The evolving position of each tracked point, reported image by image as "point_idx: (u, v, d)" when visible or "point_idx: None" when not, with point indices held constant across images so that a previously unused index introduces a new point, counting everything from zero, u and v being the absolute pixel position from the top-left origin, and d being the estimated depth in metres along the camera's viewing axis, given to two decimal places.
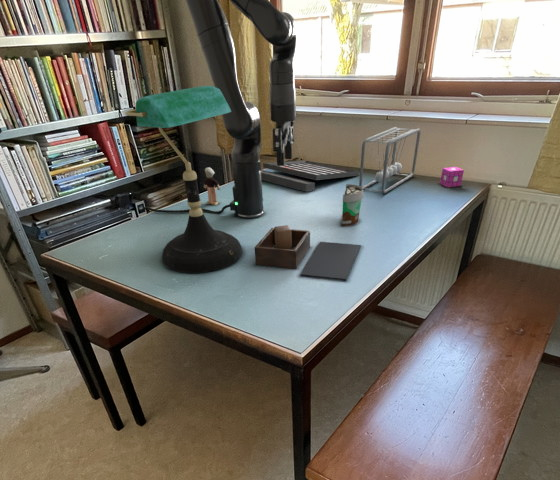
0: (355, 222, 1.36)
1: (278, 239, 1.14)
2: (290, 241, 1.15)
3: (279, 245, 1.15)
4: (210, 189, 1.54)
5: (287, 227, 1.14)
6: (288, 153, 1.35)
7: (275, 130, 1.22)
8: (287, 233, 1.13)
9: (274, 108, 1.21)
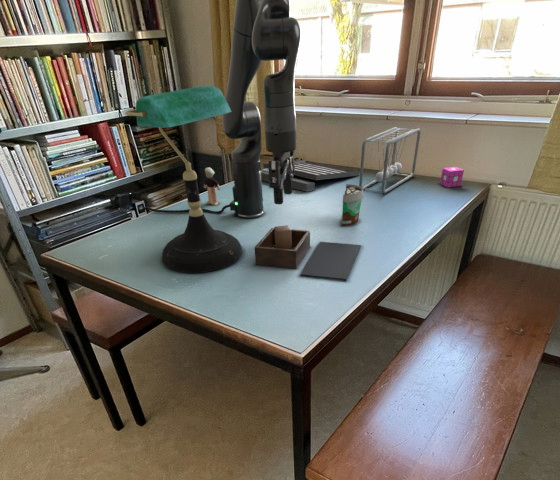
0: (355, 222, 1.36)
1: (278, 239, 1.14)
2: (290, 241, 1.15)
3: (279, 245, 1.15)
4: (210, 189, 1.54)
5: (287, 227, 1.14)
6: (287, 187, 1.11)
7: (271, 163, 0.98)
8: (287, 233, 1.13)
9: (270, 136, 0.98)
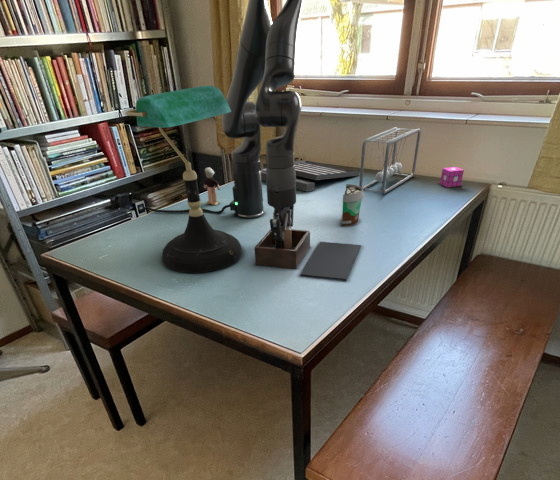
0: (355, 222, 1.36)
1: None
2: (290, 241, 1.15)
3: None
4: (210, 189, 1.54)
5: (287, 227, 1.14)
6: None
7: (273, 222, 1.07)
8: (287, 233, 1.13)
9: (271, 193, 1.06)
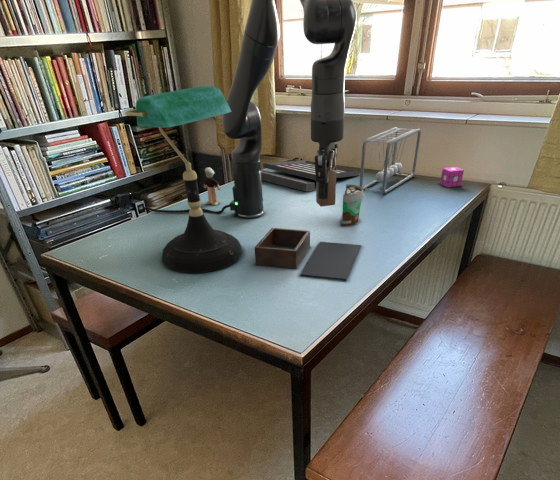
0: (355, 222, 1.36)
1: None
2: (334, 185, 1.02)
3: None
4: (210, 189, 1.54)
5: None
6: None
7: (318, 158, 0.94)
8: (331, 175, 1.01)
9: (317, 125, 0.93)
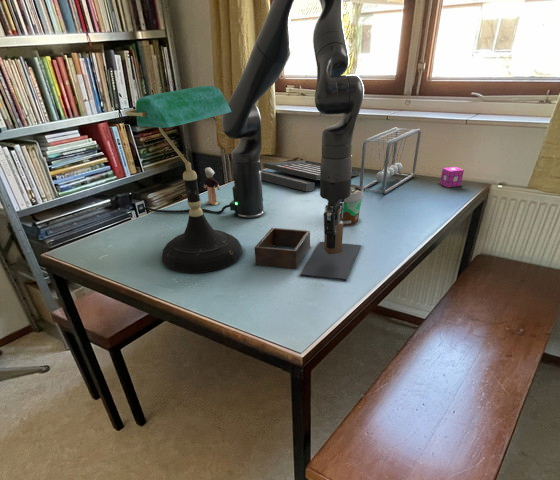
0: (355, 222, 1.36)
1: None
2: (341, 236, 1.10)
3: None
4: (210, 189, 1.54)
5: None
6: None
7: (327, 215, 1.01)
8: (338, 227, 1.08)
9: (326, 184, 1.00)
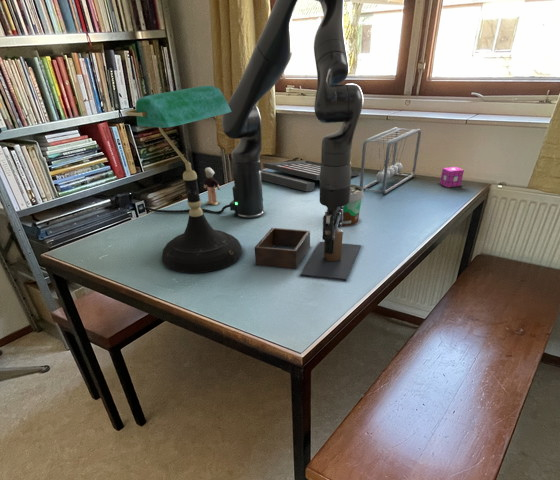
0: (355, 222, 1.36)
1: None
2: (341, 243, 1.11)
3: None
4: (210, 189, 1.54)
5: (338, 229, 1.10)
6: None
7: (326, 218, 1.02)
8: (338, 235, 1.09)
9: (325, 192, 1.01)
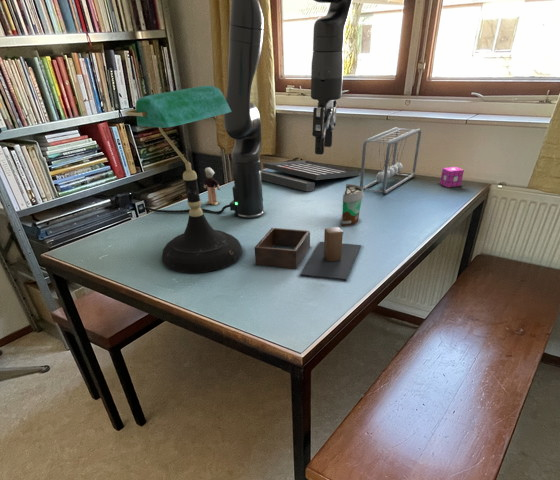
0: (355, 222, 1.36)
1: (329, 241, 1.10)
2: (341, 243, 1.11)
3: (329, 247, 1.11)
4: (210, 189, 1.54)
5: (338, 229, 1.10)
6: (328, 139, 1.12)
7: (316, 110, 0.99)
8: (338, 235, 1.09)
9: (316, 82, 0.99)
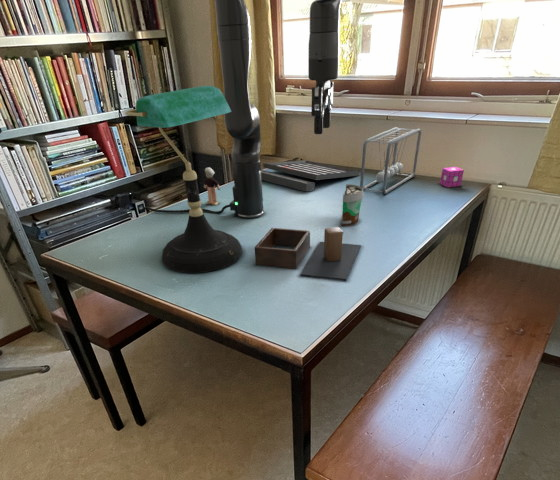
0: (355, 222, 1.36)
1: (329, 241, 1.10)
2: (341, 243, 1.11)
3: (329, 247, 1.11)
4: (210, 189, 1.54)
5: (338, 229, 1.10)
6: (325, 121, 1.15)
7: (315, 89, 1.02)
8: (338, 235, 1.09)
9: (314, 63, 1.02)
